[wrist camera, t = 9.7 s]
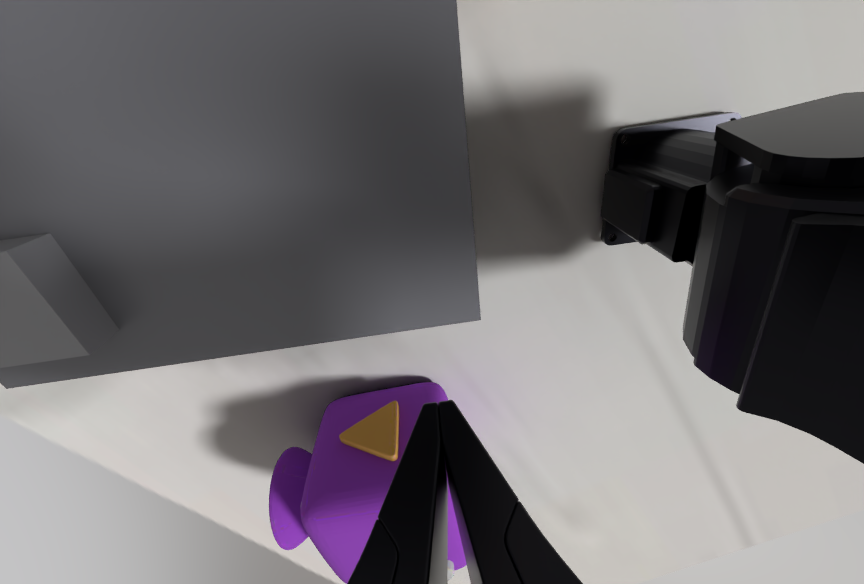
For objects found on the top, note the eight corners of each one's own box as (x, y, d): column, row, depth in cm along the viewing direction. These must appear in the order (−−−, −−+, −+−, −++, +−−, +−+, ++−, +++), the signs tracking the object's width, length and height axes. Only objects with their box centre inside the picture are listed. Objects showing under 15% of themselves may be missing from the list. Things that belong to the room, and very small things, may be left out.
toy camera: (266, 410, 28) (203, 558, 19) (430, 353, 26) (442, 488, 17) (336, 484, 33) (311, 627, 24) (476, 441, 31) (503, 578, 22)
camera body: (430, -9, 15) (457, -117, 7) (456, 244, 22) (487, 342, 13) (-83, 71, 16) (-613, 56, 8) (85, 299, 22) (-109, 428, 14)
